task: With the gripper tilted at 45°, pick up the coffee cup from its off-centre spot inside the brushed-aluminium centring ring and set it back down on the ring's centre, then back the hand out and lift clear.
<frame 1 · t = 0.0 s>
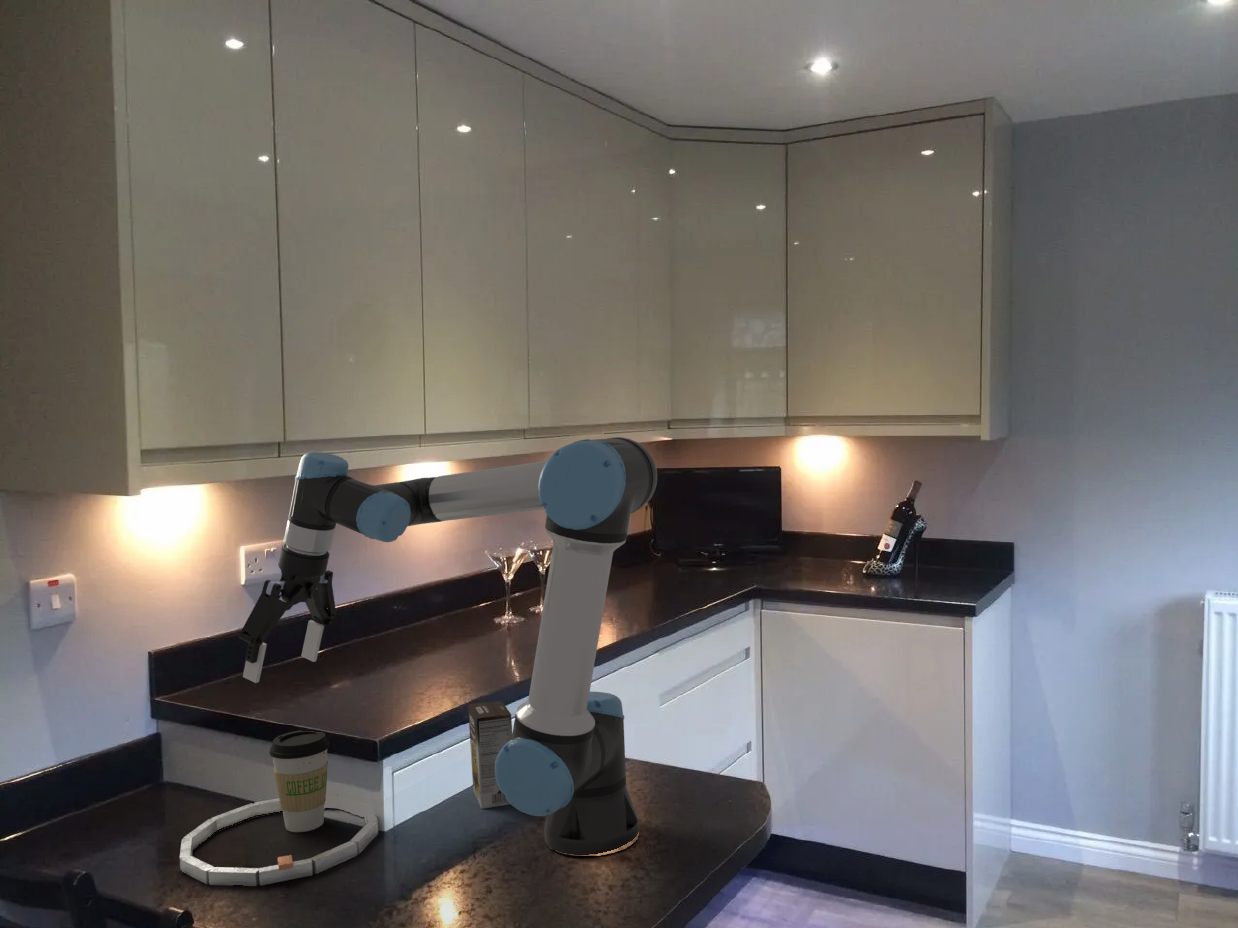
hand: (280, 668, 165), 28 cm above the worktop, tool tilted 20°, fingers open, 13 cm apart
coffee box: (494, 798, 178), on the worktop
coffee cup: (304, 825, 170), resting in centring ring
centring ring: (281, 841, 163), on the worktop
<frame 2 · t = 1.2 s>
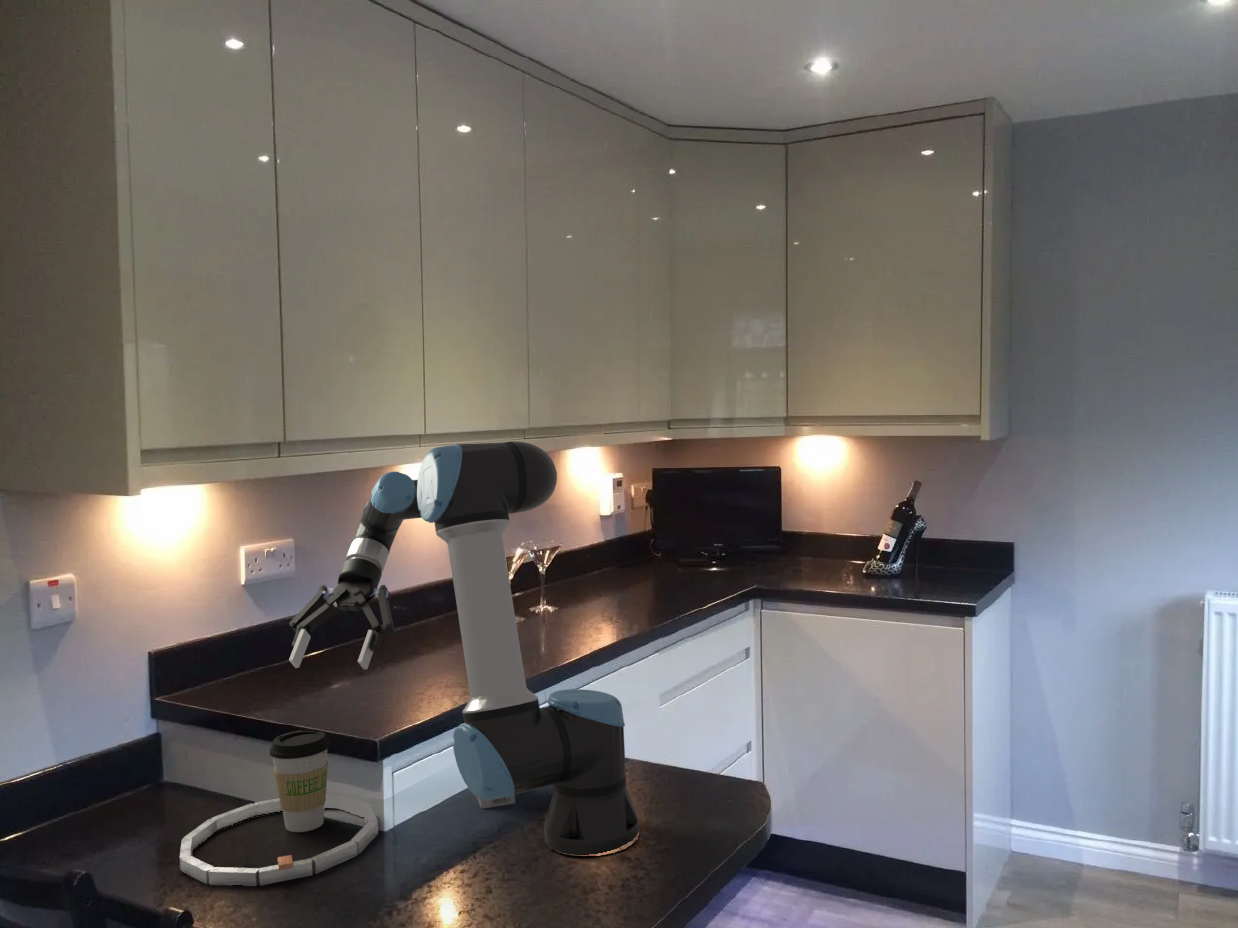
hand: (327, 664, 179), 25 cm above the worktop, tool tilted 45°, fingers open, 13 cm apart
nothing on the worktop moved.
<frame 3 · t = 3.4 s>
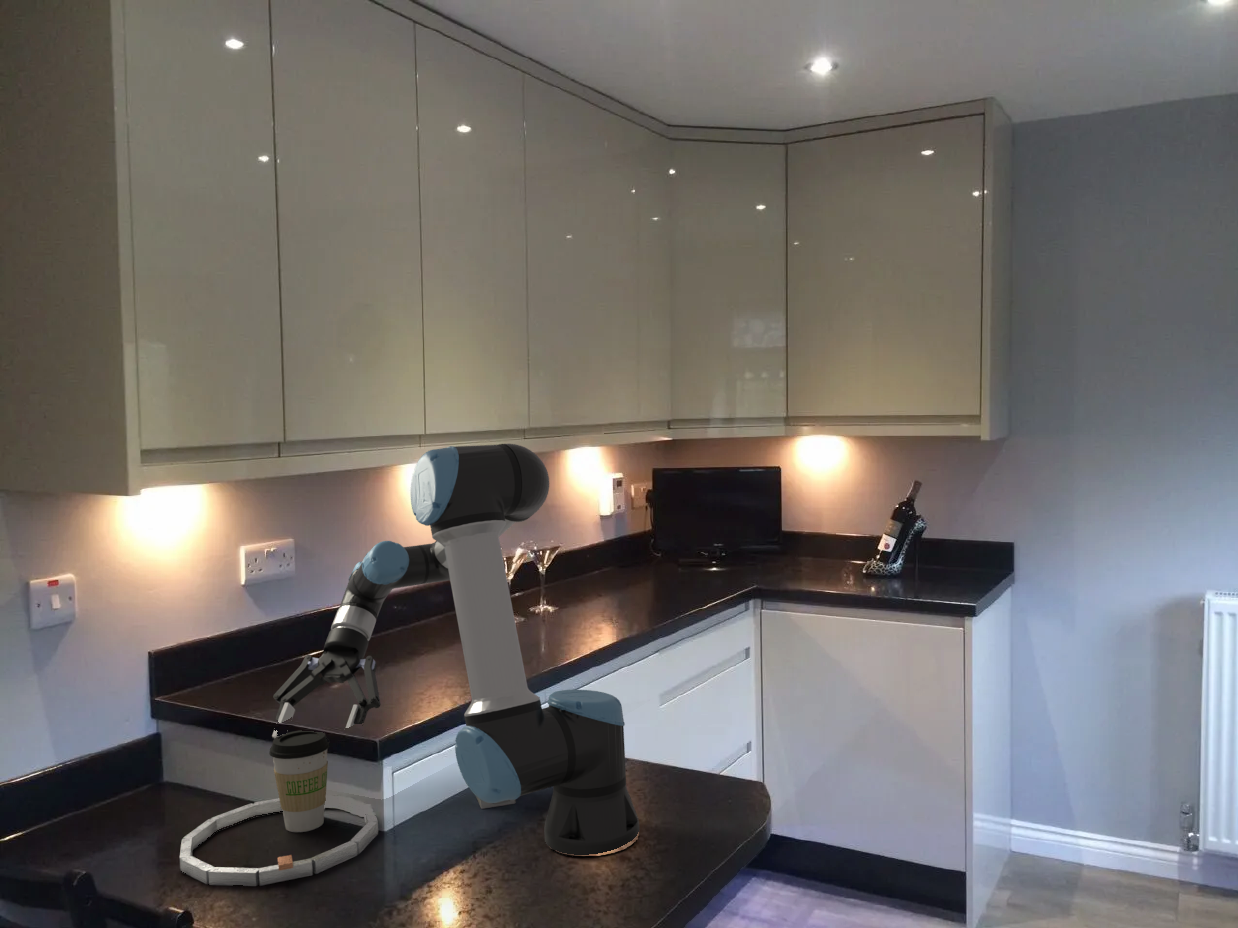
hand: (311, 741, 174), 13 cm above the worktop, tool tilted 45°, fingers open, 13 cm apart
nothing on the worktop moved.
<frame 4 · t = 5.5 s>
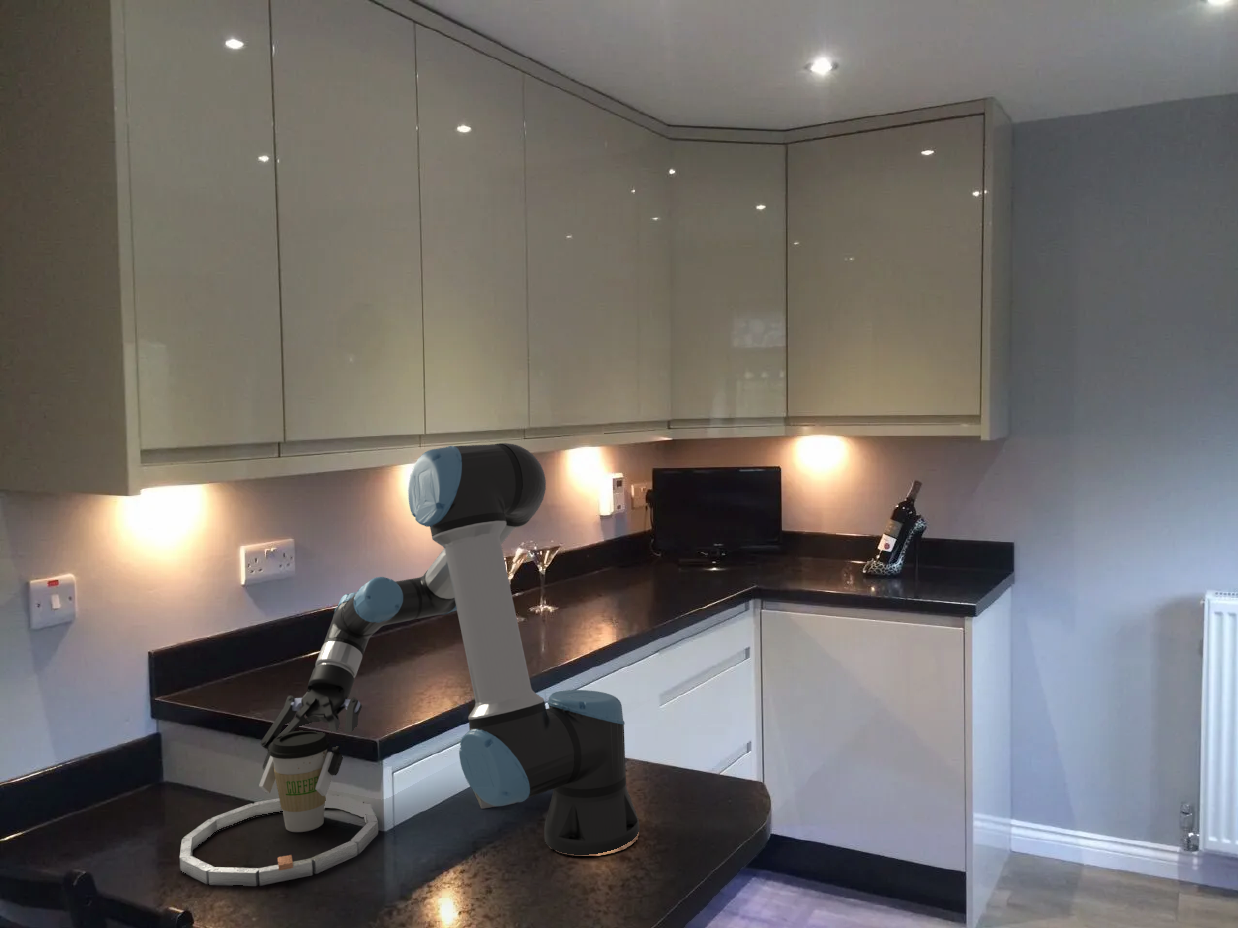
hand: (292, 790, 166), 7 cm above the worktop, tool tilted 45°, fingers closed on coffee cup, 10 cm apart
coffee cup: (304, 825, 170), resting in centring ring, touching gripper
everything else where it was.
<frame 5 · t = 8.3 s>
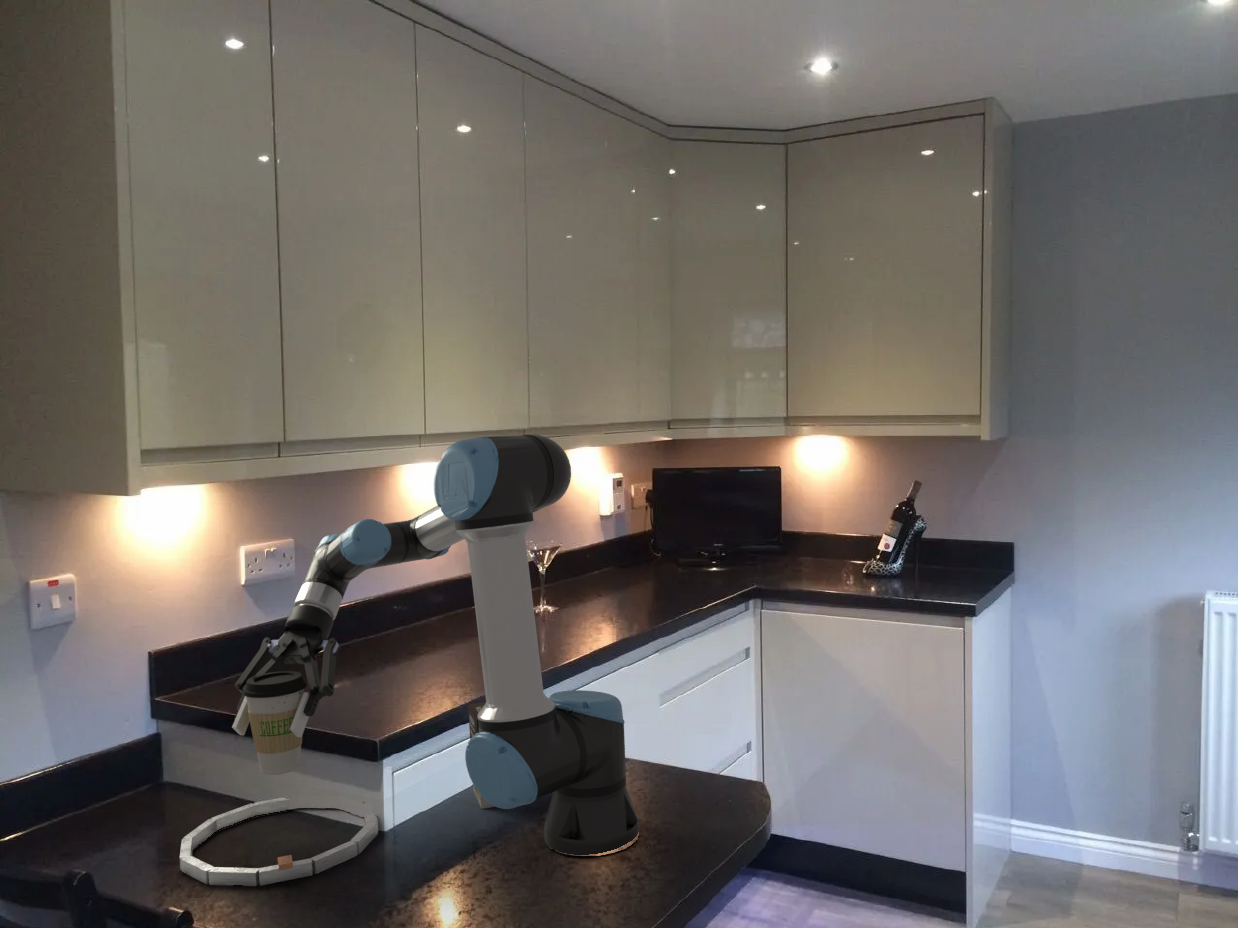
hand: (266, 732, 160), 19 cm above the worktop, tool tilted 45°, fingers closed on coffee cup, 10 cm apart
coffee cup: (280, 769, 164), point 12 cm above the worktop, touching gripper
everything else where it was.
when the fingers open (8 cm above the worktop, at t = 11.0 s): coffee cup drops 1 cm, resting in centring ring.
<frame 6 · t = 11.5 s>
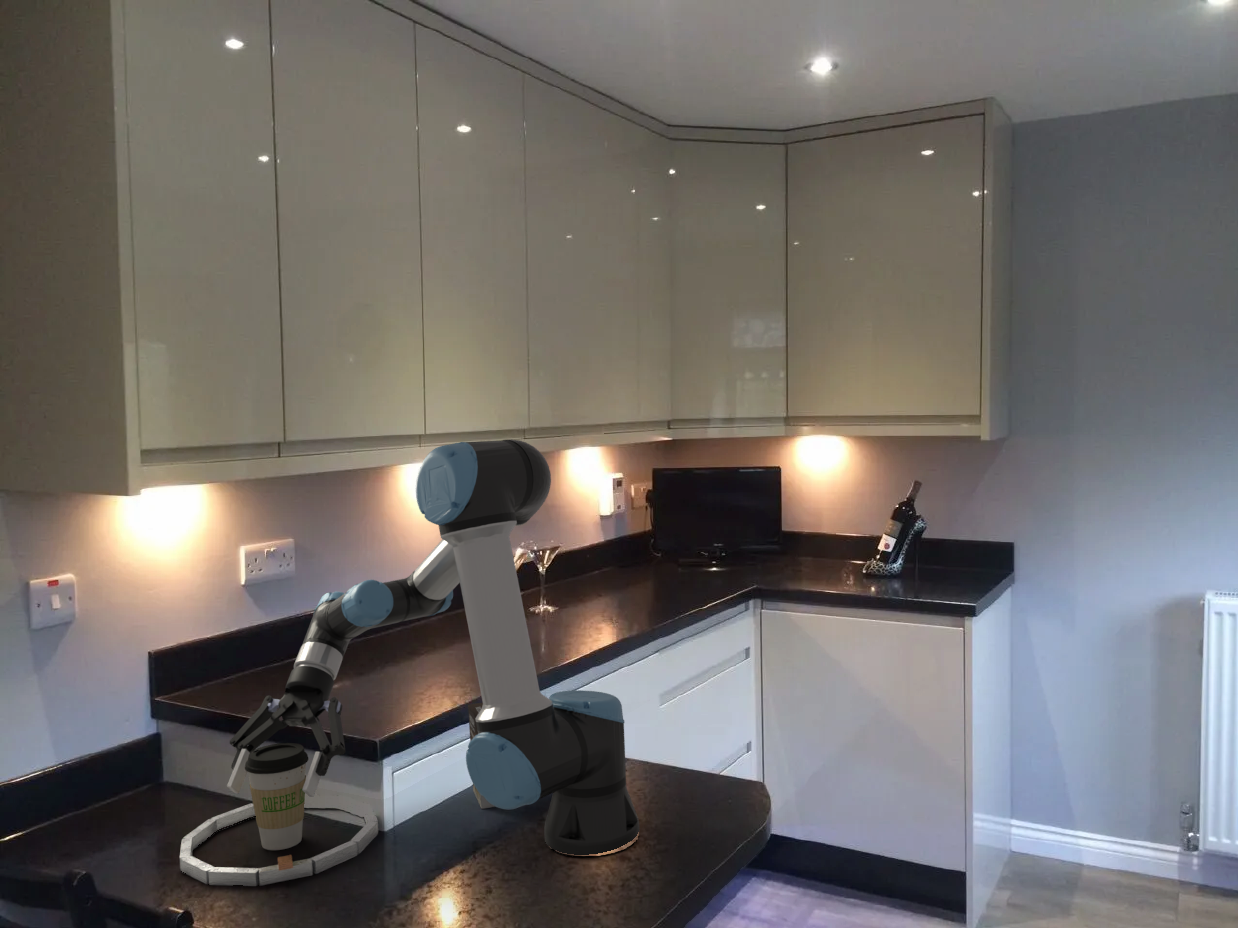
hand: (269, 792, 160), 9 cm above the worktop, tool tilted 45°, fingers open, 13 cm apart
coffee cup: (282, 842, 163), resting in centring ring
everything else where it was.
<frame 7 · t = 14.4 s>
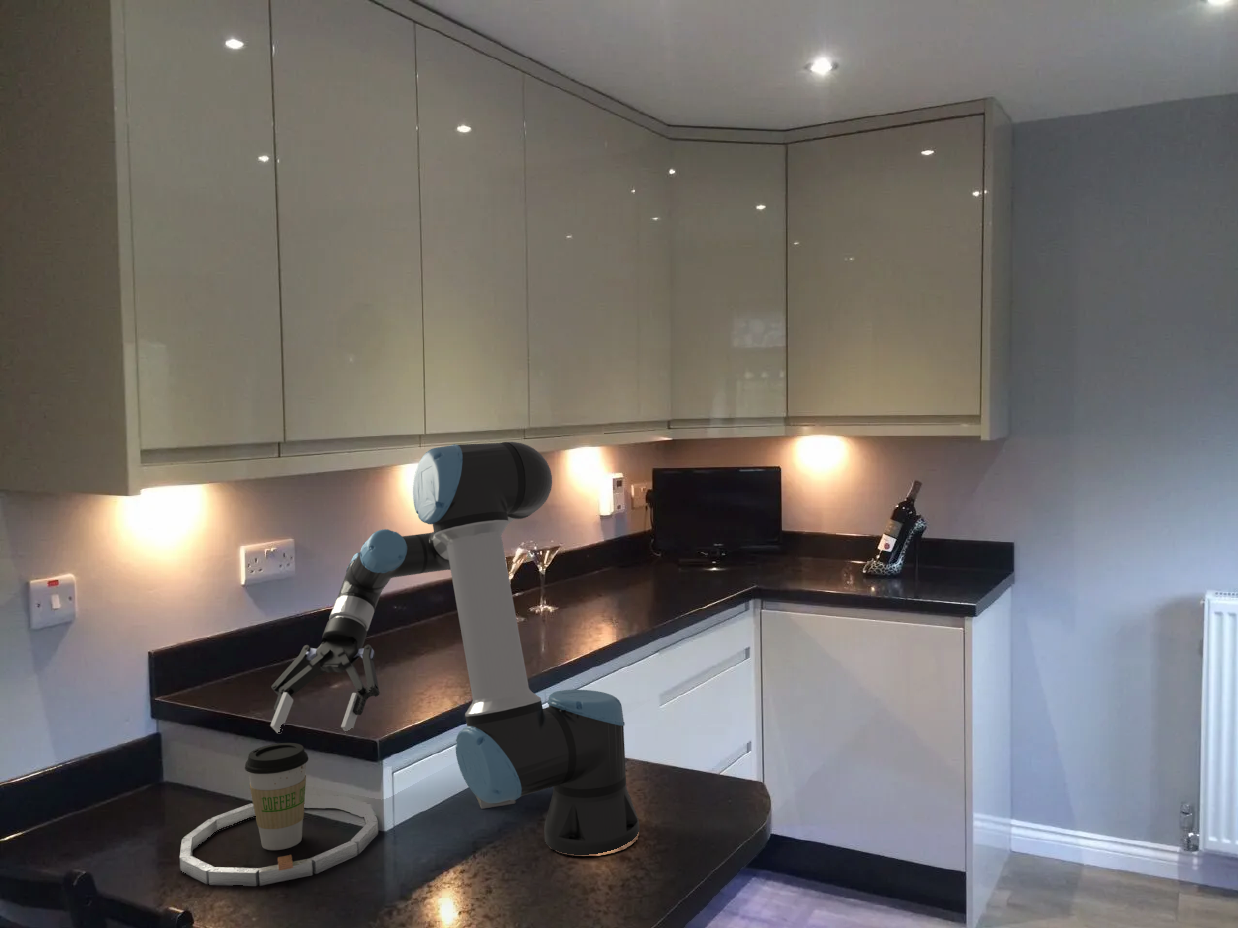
hand: (310, 730, 173), 15 cm above the worktop, tool tilted 45°, fingers open, 13 cm apart
nothing on the worktop moved.
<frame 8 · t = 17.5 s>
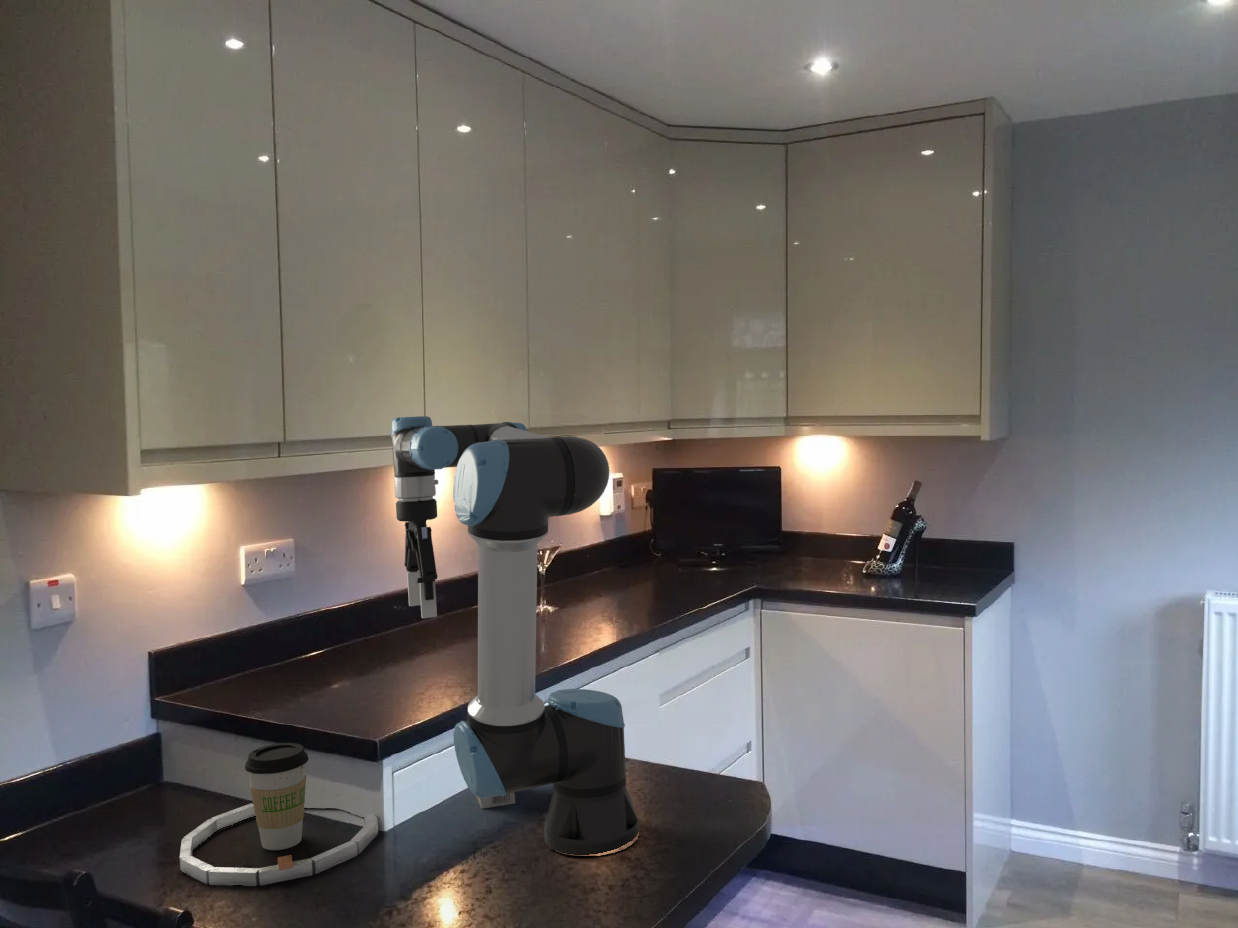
hand: (422, 611, 188), 32 cm above the worktop, tool pointing down, fingers open, 13 cm apart
nothing on the worktop moved.
at the end: coffee cup 0.1 cm from the centring ring (horizontally); coffee cup tilted 0°; coffee cup moved 6.9 cm from its start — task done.
